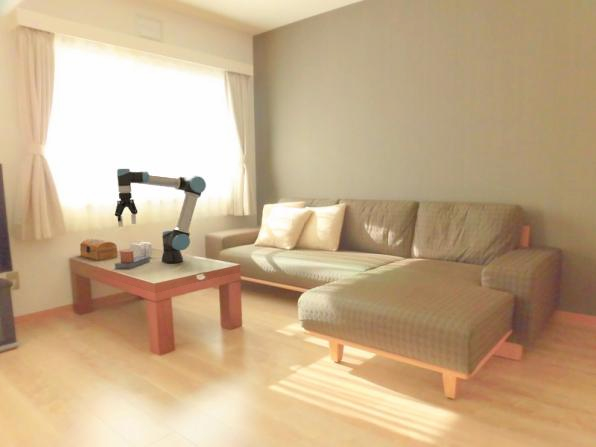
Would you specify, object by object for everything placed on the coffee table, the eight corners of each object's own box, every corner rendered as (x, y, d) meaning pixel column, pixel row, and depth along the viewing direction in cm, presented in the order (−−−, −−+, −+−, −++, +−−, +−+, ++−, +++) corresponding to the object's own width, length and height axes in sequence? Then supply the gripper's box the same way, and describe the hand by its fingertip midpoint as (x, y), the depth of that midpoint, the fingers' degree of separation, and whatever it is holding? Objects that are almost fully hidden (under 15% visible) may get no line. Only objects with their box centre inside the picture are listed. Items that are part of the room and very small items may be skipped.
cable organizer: (130, 257, 320) (129, 242, 318) (142, 255, 328) (141, 241, 326) (140, 260, 310) (139, 244, 309) (153, 257, 318) (152, 242, 317)
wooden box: (79, 257, 328) (77, 240, 326) (100, 253, 340) (98, 237, 338) (96, 261, 308) (94, 243, 307) (118, 258, 321) (116, 240, 319)
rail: (136, 261, 306) (136, 256, 306) (149, 261, 303) (149, 256, 303) (115, 268, 283) (114, 263, 282) (129, 268, 280) (129, 263, 280)
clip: (123, 265, 290) (122, 250, 288) (134, 266, 288) (133, 250, 286) (121, 266, 287) (120, 251, 286) (131, 267, 285) (130, 251, 284)
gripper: (131, 191, 280) (134, 222, 282) (106, 193, 256) (109, 227, 258) (141, 191, 278) (143, 222, 281) (117, 193, 254) (120, 227, 257)
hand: (127, 225), depth 269 cm, fingers open, 13 cm apart
